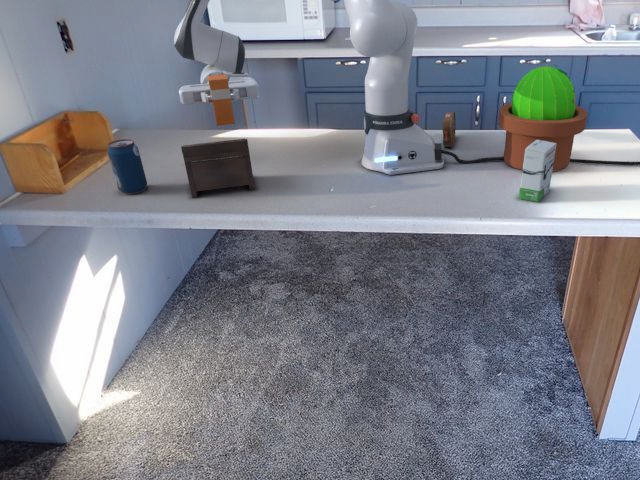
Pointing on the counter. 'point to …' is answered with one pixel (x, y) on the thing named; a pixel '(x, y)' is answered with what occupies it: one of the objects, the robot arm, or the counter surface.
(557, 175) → the counter surface
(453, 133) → the tin
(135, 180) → the soda can
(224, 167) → the brown wooden cabinet
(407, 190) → the counter surface
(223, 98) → the packet
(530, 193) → the ink box
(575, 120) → the potted cactus
